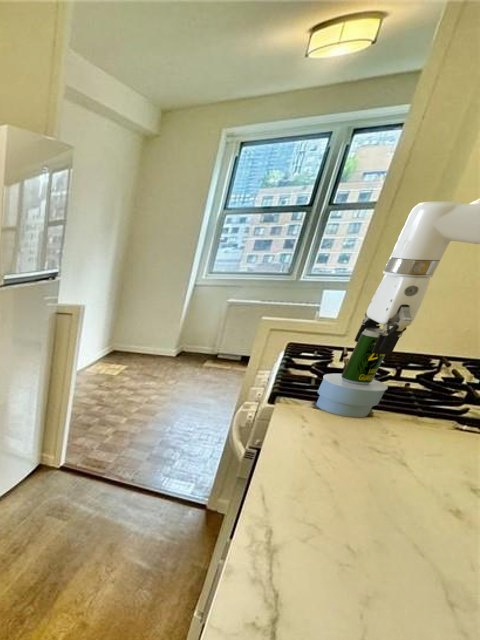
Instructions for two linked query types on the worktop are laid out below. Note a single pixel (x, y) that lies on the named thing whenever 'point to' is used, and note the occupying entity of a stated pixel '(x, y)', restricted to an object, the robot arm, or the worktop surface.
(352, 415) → the yogurt tub
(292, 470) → the worktop surface
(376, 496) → the worktop surface
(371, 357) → the beer can
